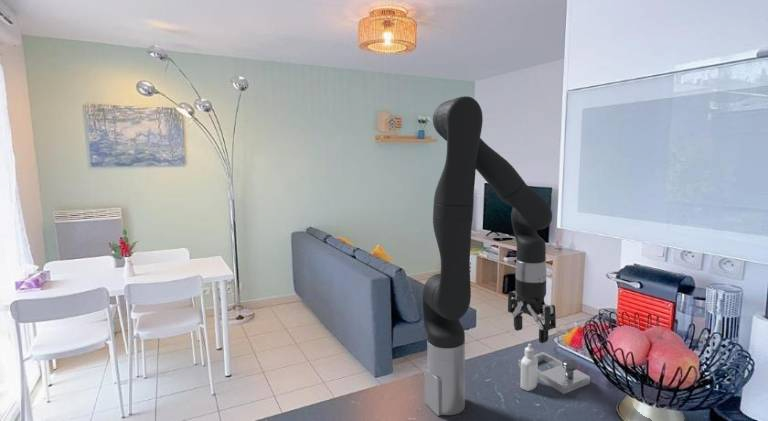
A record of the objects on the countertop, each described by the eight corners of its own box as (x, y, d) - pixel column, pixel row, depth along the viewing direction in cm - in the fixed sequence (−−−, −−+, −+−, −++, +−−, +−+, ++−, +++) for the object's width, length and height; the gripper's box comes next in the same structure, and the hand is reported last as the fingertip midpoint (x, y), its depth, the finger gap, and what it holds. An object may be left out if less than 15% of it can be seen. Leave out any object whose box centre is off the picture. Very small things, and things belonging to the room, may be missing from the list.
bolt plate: (563, 394, 105) (564, 371, 104) (518, 366, 119) (518, 346, 119) (589, 383, 110) (590, 362, 109) (543, 357, 124) (543, 338, 123)
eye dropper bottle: (543, 388, 108) (544, 346, 106) (524, 392, 106) (525, 349, 105) (533, 380, 112) (534, 339, 110) (515, 383, 111) (515, 342, 109)
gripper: (500, 272, 110) (500, 329, 112) (541, 287, 97) (541, 350, 99) (521, 267, 113) (521, 323, 115) (563, 281, 100) (562, 343, 103)
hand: (530, 335), depth 107 cm, fingers open, 8 cm apart
